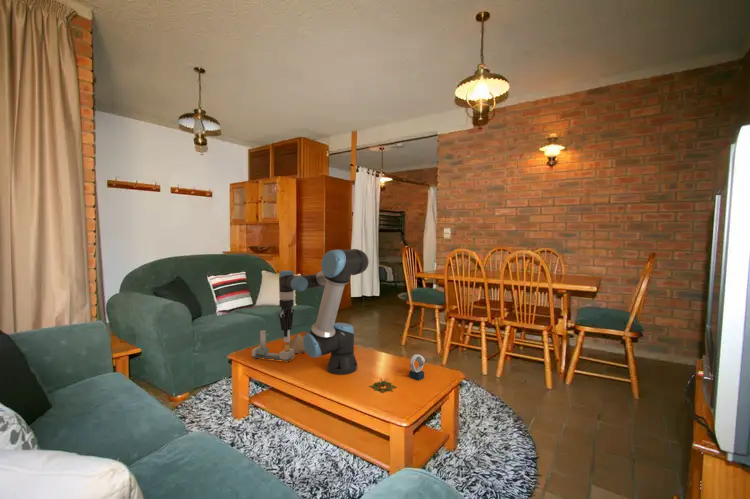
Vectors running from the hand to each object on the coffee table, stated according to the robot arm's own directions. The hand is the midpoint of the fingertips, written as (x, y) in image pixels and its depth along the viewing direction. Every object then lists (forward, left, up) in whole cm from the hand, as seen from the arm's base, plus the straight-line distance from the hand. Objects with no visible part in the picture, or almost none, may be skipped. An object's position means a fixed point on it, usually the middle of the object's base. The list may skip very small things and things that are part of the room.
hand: (286, 341), depth 183 cm
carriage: (+10, +10, -8) cm, 17 cm away
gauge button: (0, 0, -6) cm, 6 cm away
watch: (-55, -47, -10) cm, 73 cm away
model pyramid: (+13, -11, -11) cm, 21 cm away
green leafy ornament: (-55, -28, -11) cm, 63 cm away
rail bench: (+6, +6, -10) cm, 13 cm away
